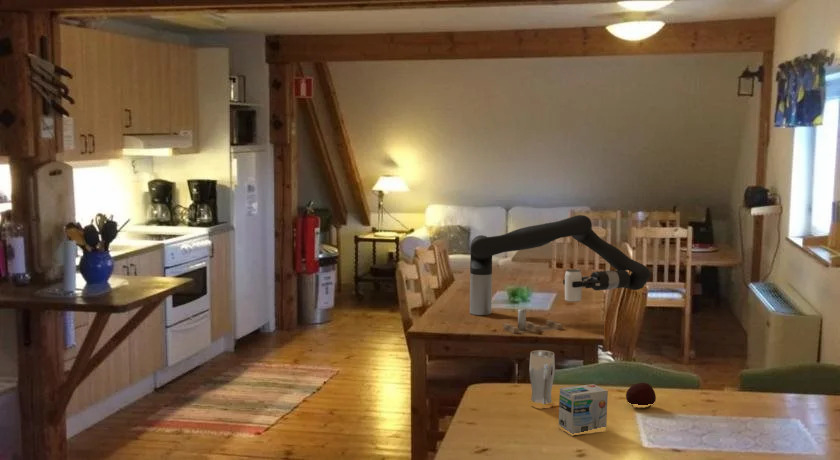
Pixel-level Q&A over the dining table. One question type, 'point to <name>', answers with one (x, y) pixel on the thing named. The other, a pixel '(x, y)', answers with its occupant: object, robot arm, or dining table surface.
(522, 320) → the grey peg
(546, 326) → the rail
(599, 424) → the light bulb box
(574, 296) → the can
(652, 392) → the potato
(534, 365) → the beer glass
